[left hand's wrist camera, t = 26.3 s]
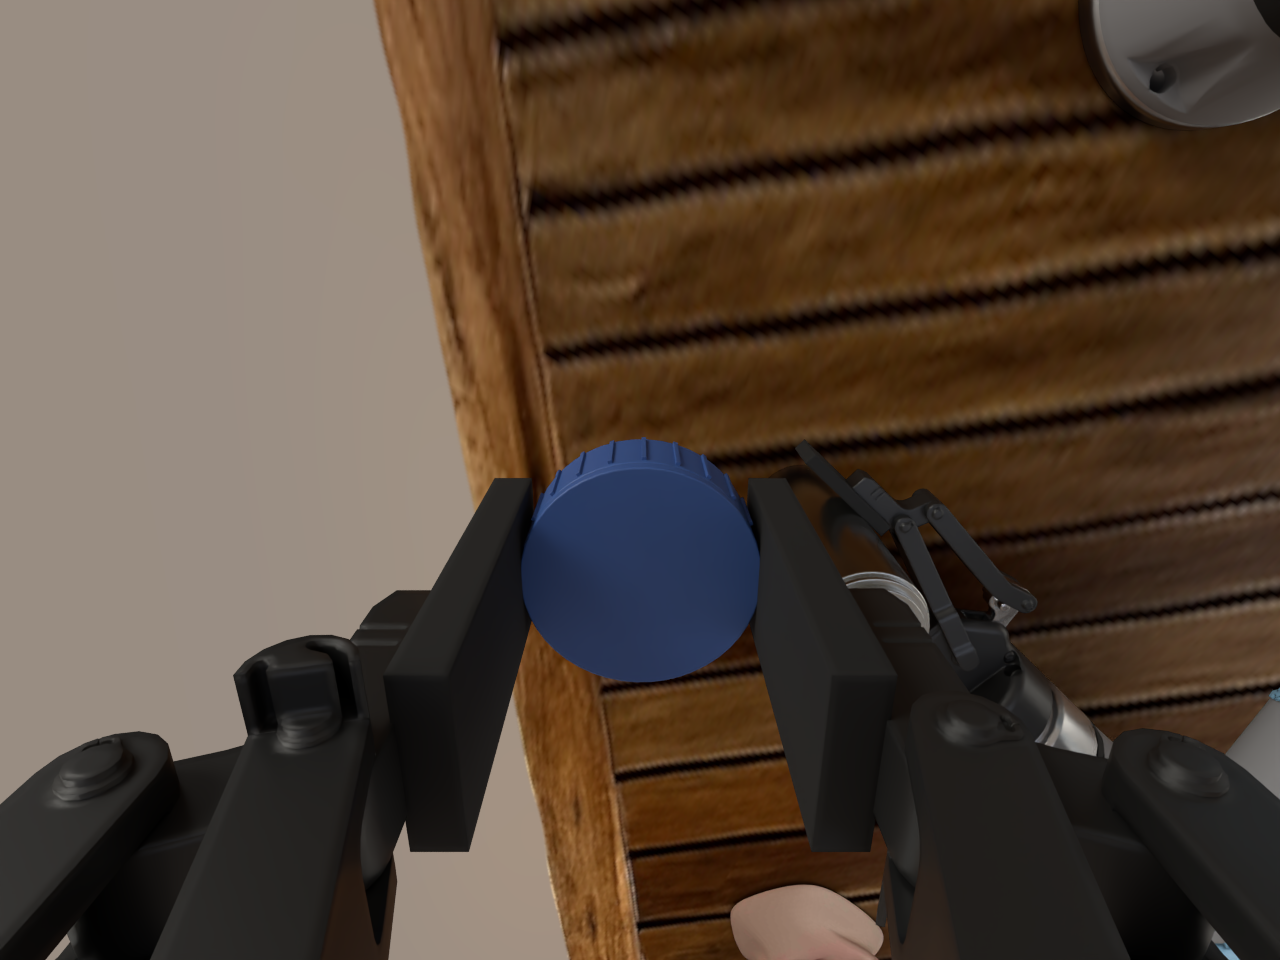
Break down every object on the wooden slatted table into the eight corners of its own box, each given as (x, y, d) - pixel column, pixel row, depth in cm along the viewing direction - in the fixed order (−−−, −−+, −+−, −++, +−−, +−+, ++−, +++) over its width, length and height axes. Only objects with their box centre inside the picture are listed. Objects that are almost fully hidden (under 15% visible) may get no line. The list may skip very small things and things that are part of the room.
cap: (604, 392, 13) (599, 415, 12) (796, 511, 14) (816, 547, 13) (491, 571, 15) (472, 613, 13) (672, 669, 16) (676, 721, 14)
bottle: (843, 542, 48) (964, 733, 30) (755, 551, 48) (823, 746, 30) (842, 460, 46) (972, 612, 28) (750, 469, 46) (820, 626, 28)
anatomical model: (710, 964, 57) (827, 902, 54) (706, 918, 61) (815, 858, 58) (799, 1046, 61) (913, 991, 58) (790, 998, 64) (897, 945, 62)
